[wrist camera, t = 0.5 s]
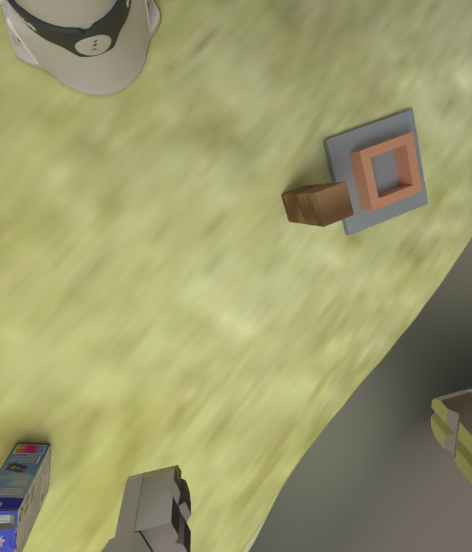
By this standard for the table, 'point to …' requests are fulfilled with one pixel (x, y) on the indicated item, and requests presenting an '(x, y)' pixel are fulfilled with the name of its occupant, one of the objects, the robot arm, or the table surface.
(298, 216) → the wooden post
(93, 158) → the table surface
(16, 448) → the ink cartridge box
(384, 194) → the housing
